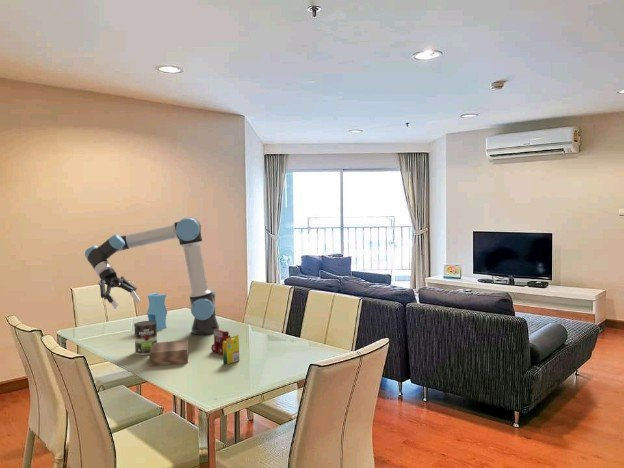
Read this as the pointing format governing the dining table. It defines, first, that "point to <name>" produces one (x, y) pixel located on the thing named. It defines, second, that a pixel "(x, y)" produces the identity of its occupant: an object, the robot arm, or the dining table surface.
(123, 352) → the dining table surface
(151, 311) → the vase
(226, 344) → the crayon box
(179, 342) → the walnut block
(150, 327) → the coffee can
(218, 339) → the toy fire truck
